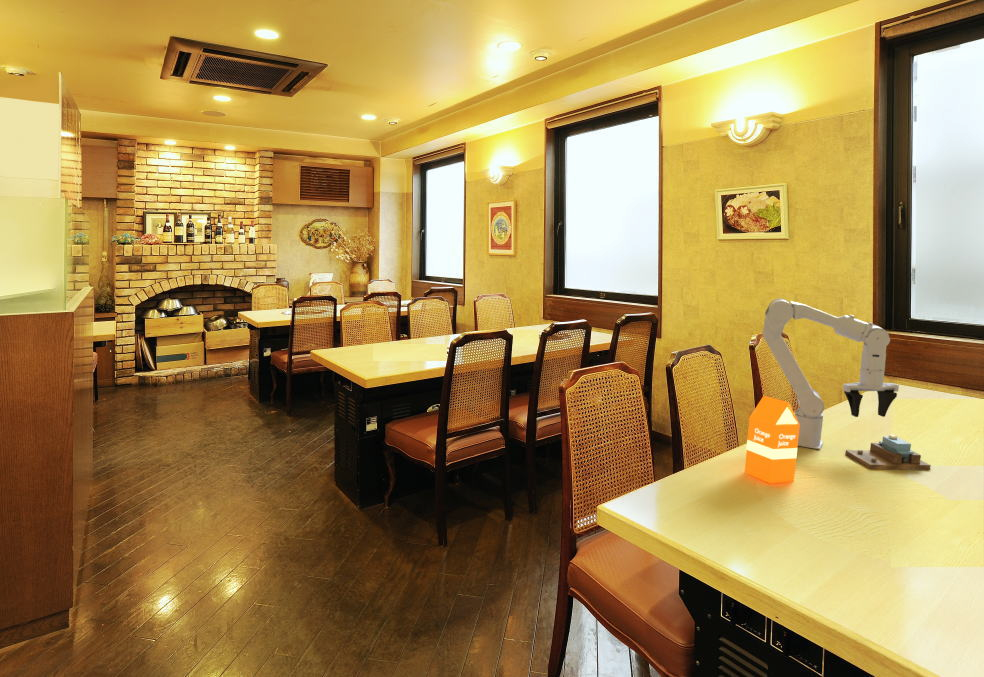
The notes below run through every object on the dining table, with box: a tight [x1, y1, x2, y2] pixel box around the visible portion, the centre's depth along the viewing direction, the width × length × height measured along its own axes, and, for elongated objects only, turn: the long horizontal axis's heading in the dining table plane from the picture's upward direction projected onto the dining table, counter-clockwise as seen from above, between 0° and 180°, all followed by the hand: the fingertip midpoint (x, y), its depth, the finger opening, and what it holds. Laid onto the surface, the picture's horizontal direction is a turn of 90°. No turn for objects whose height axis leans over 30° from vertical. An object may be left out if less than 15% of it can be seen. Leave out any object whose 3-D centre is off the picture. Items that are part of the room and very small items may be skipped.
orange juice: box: [744, 395, 800, 484], centre depth 151 cm, size 8×9×20 cm
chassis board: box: [845, 442, 932, 470], centre depth 163 cm, size 16×11×4 cm
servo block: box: [878, 434, 915, 462], centre depth 163 cm, size 9×4×6 cm, turn 0°
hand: (868, 415), depth 170 cm, fingers open, 7 cm apart
